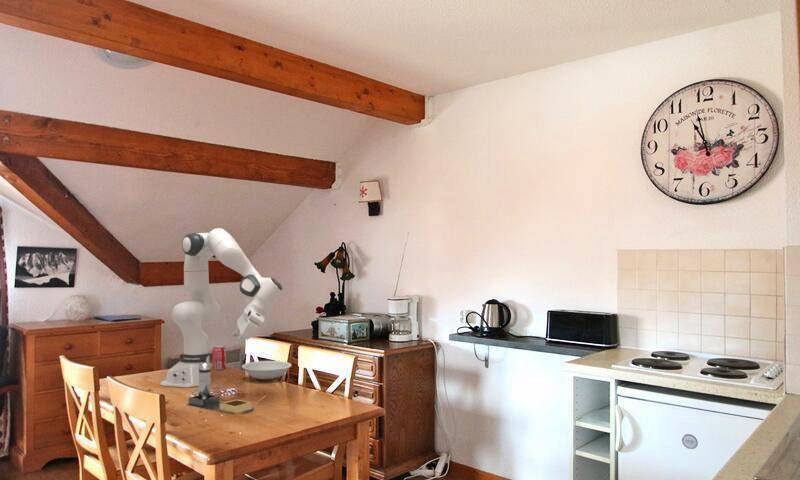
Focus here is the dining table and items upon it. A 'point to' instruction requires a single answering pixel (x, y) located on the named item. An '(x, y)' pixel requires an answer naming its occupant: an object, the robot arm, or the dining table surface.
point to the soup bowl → (266, 369)
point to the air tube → (204, 380)
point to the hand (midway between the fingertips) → (235, 340)
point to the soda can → (219, 357)
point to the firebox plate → (221, 405)
